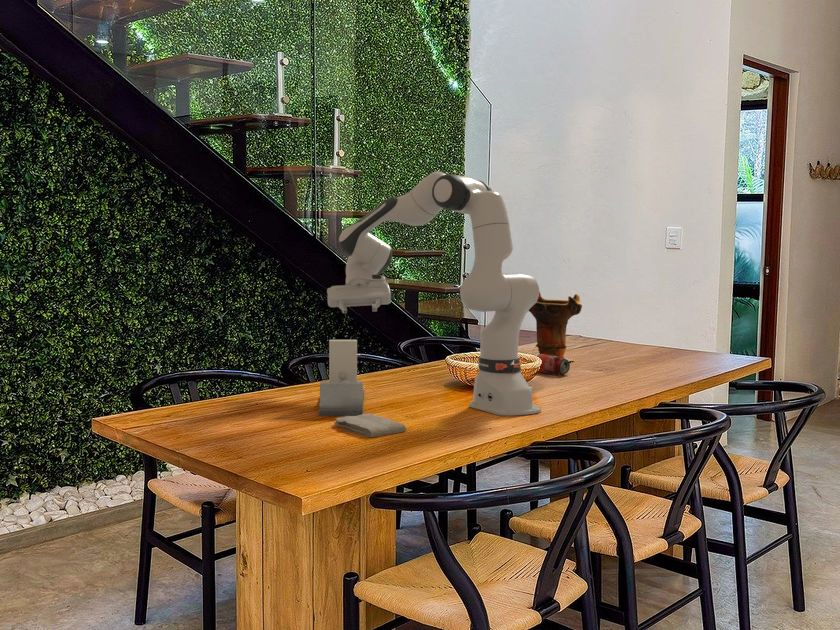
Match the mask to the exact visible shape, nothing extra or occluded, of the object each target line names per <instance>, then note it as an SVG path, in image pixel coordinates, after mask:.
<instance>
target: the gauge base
mask: <svg viewBox="0 0 840 630" xmlns="http://www.w3.org/2000/svg"><path fill="white" fill-rule="evenodd" d="M364 402H365V390H364V381H362V380H357V381H329V380H321V381H320V382H319V403H318V404H319V405H318V406H319V411H318V414H319V417H326V416H327V417H338V416H339V417H345V416H358V415H362V414H364Z"/></svg>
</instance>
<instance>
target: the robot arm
mask: <svg viewBox="0 0 840 630" xmlns="http://www.w3.org/2000/svg"><path fill="white" fill-rule="evenodd" d="M443 209H444V210H446V211H452V212H455V213H457V214H465V215H468V216H469V218H470V222H471V227H472V236H473V247H474V261H473V265H472V268H471V271H470V272H469V274H468V276H466V278H464V280H463V281H462V283H461V286H460V289H459V290H460V291H459V296H460V300H461V302H462V304H463V305H464V308H466V309H468V310H470V311H475V312H480V313H481V312H483V313H486V312H494V316H493V317H492V319H491V321H490V322H489V323H488V324H487V325H485V326H484V327H483V328H482V330H481V331H480V351H479V353H480V355H479V357H478V370H479V372H478V374H477V375H476V377H474V383H473V394H472V401H470V402H469V404H468V407H470V408H473V409H475V410H476V409H477V410H480V411H484V412H487V413H489V414H490V413H491V414H494V415H498V416H524V415H534V414H539V413H541V412H542V409H541V408H540V407H539V406H538V405H536V404H534V402H533V401H534V399H533V394H534V388H533V386H530V385H529V383H528V382H527V381H526V379H525V377H524V376H523V374H522V372H521V371H522V369H521V368H522V366H521V365H522V363H521V362H520V358H519V339H520V338H519V337H520V331H521V327H522V324H523V322H524V319H525V318H526V317H525V316H526V315H527V313H528V312H529V311H528V310H529V309H530V308H531V307H532V306H533V305H534V304H535V303H536V302H537V300H538V297H539V291H540V287H539V284H538V281H537V280H536V279H535V278H534V277H533V275H528V274H525V273H519V272H512V273H511V272H507V273H504V272H502V268H503V267H502V266H503V262H504V261H505V260H506V259H508V258H509V256H511V254H512V252H513V241H512V233H511V226H510V221H509V216H508V215H509V214H508V211H507V208H506V205H505V201H504V198H503V197H502V194H500V192H497V191H494V190H492V188H491V186H489V185H488V184H487V183H485V182H484V181H482V180H478V179H474V178H471V177H470V176H465V175H459V174H458V175H457V174H454V173H447V174H446V173H444V172H442V171H438V170H437V171H434V172H431V173H430V174H428V175H427V176H426V177H423V178H422V179H421V180H420V181H419V182H418V183H417V184H416V185H415V186H414V187H413V188H412V189H411V190H409V192H407V193H406V194H404V195H403V194H402V195H401V196H397V197H394V196H391V197H388V198H387V199H386V200H384V201H383V202H381V203H379V204H378V205H377V206H375V207H374V208H373V209H371V210H370V211H369V212H368V213H366V214H365V215H363V216H362V217H360V219H358V220H357V221H355V222H353V223H352V224H349V225H348V226H347V227H345V228H344V229H343V230H342V232H341V233H340V235H339V237H338V239H337V241H338V246H339V249H340V251H341V253H343V254H345V255H346V256H348V258H347V261H346V264H345V276H346V277H345V284H343V285H342V284H341V285H331V286H330V287H328V288H327V290H326V294H327V306H328V307H330V308H339V309H340V310H341V313H342V314H347V313H348V309H347V308H348V307H360V306H361V307H364V306H371V309H372V310H371V311H372V312H378V308H379V307H381V305H384V306H385V305H389V304H391V303H392V295H391V294H392V293H391V289H390V286H389V283H388V282H387V280H386V276H384V275H381V274H383V273H384V272H386V270H387V269H388V268H389V266H390V265H391V264H392V259H393V250H392V247H391V245H390V244H387V242H384V241H383V240H382V239H380V238H379V237H377V236H376V235H373V234H372V233H371V232H372V231H373V230H374V229H375V228H377V227H378V226H379V225H380V224H382V223H383V222H396V223H401V224H405V225H408V226H411V227H412V226H413V227H418V226H419V227H420V226H424V225H426V224H428V223H429V222H431V221H432V220H433V219H434V218H435V217H436V216H437V215H438V214H439V213H440V212H441V211H442V210H443Z"/></svg>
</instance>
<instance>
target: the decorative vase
mask: <svg viewBox="0 0 840 630" xmlns="http://www.w3.org/2000/svg"><path fill="white" fill-rule="evenodd" d="M582 307H583V305H582V303H581V300H580V294H578V293H575V294H574V296H573V297H572V296H568V298H567V299H549V298H544V297H542V294H541V290H539V297H538V300H537V302H536V303H535V304H534V305H533V306H532V307H531V308H530V309H529V310H528V312H529V313H530V314H531V315H532V316H533V318H535V323H536V343H537V344H536V345H535V347H534V349H533V354H534V352H535V348H538V349H537V351H538V353H539V354H544V355H550V356H558V357H564V356H565V352H566V350H567V344H566V340H567V339H566V338H567V337H566V335H567V334H566V333H567V325H568V323H569V320H570V319H571V318H572V317H574V316H576V315H579V314H580V313H581V311H582ZM564 358H566V359H569V360H570V358H567V357H564ZM571 360H572V359H571ZM571 360H570V361H571ZM570 361H569V362H570Z"/></svg>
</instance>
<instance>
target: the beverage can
mask: <svg viewBox="0 0 840 630" xmlns="http://www.w3.org/2000/svg"><path fill="white" fill-rule="evenodd" d="M536 357H539V358H540V359H541V360H542V364H541V366H540V369H539V372H538V373H541V372H542V373H543V374H548V373H549V374H550V375H554V374H555V376H563V375H567V374H568V373H569V371H570V366H571V363H569V361H568V360H567V359H565V358H566V357H558V356H550V355H544V354H540V353H539V354H537V356H536Z"/></svg>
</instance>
